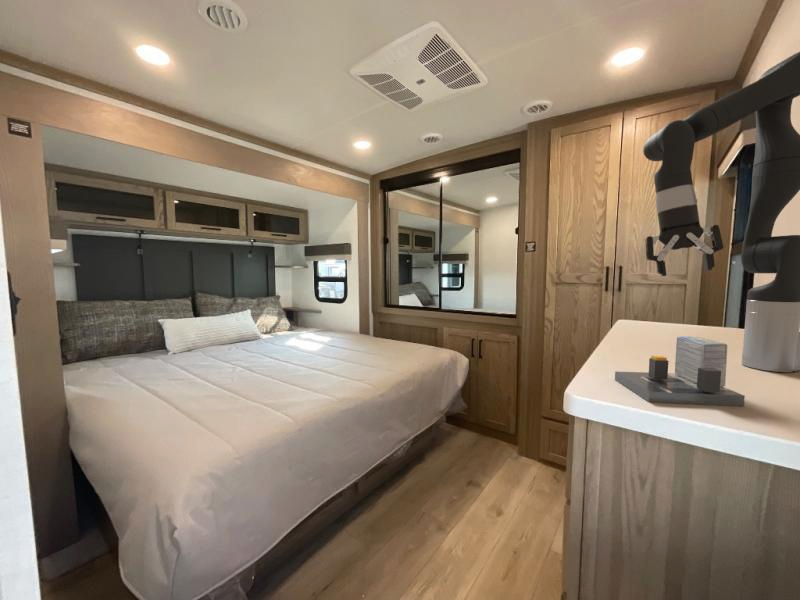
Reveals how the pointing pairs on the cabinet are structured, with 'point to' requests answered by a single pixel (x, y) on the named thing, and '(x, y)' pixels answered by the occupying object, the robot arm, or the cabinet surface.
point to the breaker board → (675, 390)
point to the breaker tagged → (658, 367)
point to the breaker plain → (709, 379)
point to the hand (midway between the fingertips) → (685, 273)
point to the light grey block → (699, 357)
